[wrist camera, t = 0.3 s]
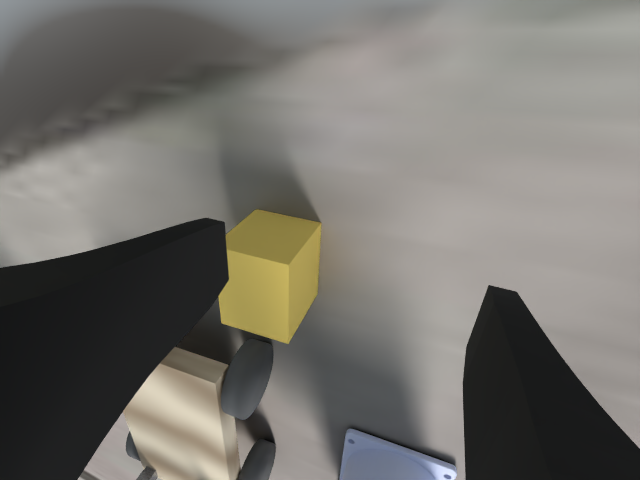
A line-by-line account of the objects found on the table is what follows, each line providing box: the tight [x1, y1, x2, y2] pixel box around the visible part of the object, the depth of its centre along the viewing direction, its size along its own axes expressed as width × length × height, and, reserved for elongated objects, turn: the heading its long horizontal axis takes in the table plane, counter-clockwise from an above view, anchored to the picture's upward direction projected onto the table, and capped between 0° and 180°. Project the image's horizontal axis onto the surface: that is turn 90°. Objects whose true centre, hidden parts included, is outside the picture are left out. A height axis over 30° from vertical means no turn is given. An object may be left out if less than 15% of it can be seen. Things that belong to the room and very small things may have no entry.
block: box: [218, 209, 321, 344], centre depth 21 cm, size 5×4×4 cm
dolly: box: [123, 339, 276, 480], centre depth 28 cm, size 17×12×10 cm
